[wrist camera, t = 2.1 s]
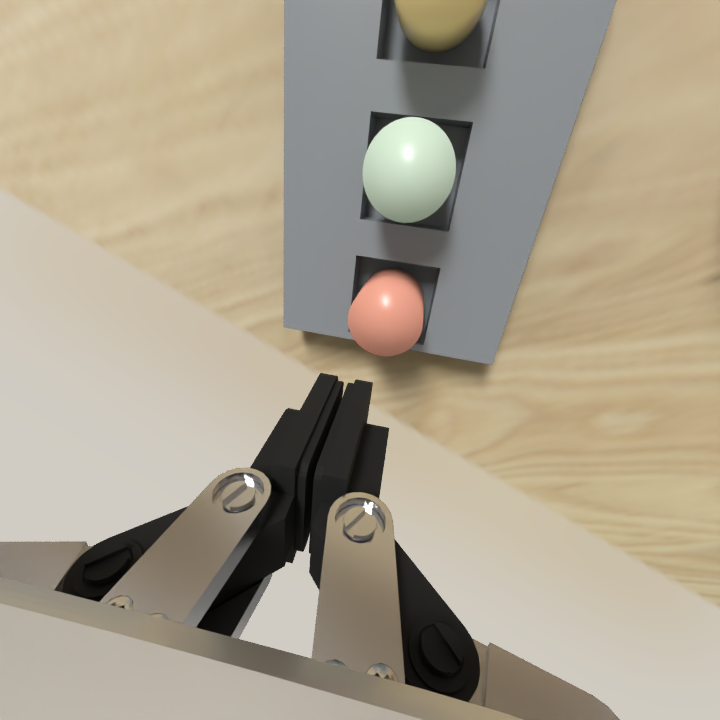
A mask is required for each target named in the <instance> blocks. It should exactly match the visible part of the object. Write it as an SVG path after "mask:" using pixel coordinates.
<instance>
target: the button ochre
mask: <svg viewBox="0 0 720 720" xmlns="http://www.w3.org/2000/svg"><path fill="white" fill-rule="evenodd" d="M394 1H395V6H396V11H397V16H398V20H399V23H400V26H401V29H402V31H403V33H404V34H405V36H406V37H407V39H408V40H409V41H410V42H411V43H412V44H413V45H414V46H415V47H417V48H418V49H420V50H422V51H425V52H430V53H441V52H445V51H448V50H451V49H453V48H455V47H456V46H458V45H459V44H461V43H462V42H463V41H464V40H465V39H466V38H467V37H468V36H469V35H470V34H471V33H472V31H473V30H474V29H475V27H476V26H477V24H478V22H479V21H480V19H481V17H482V15H483V12H484V10H485V7H486V4H487V1H488V0H394Z"/></svg>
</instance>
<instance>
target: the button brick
mask: <svg viewBox="0 0 720 720" xmlns="http://www.w3.org/2000/svg"><path fill="white" fill-rule="evenodd" d="M423 314H424V292H423V289H422V287H421V285H420V283H419V281H418V280H417V279H416V278H415V277H414V276H413V275H412V274H410V273H409V272H407V271H405V270H402V269H398V268H386V269H382V270H380V271H378V272H376V273H374V274H373V275H372V276H370V277H369V279H368V280H367V281H366V283H365V284H364V286H363V287H362V289H361V290H360V292H359V293H358V295H357V297H356V298H355V300H354V301H353V303H352V305H351V307H350V310H349V314H348V326H349V330H350V333H351V335H352V337H353V338H354V340H355V341H356V342H357V344H358V345H359V346H360V347H362V348H363V349H364V350H366V351H368V352H370V353H372V354H375V355H379V356H395V355H399V354H401V353H404V352H405V351H407V350H409V349H410V348H411V347H412V346H413V345H414V344H415V343H416V342H417V340H418V339H419V337H420V335H421V332H422V327H423Z"/></svg>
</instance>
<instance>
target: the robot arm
mask: <svg viewBox="0 0 720 720" xmlns="http://www.w3.org/2000/svg"><path fill="white" fill-rule="evenodd" d="M343 385H344V383H343V382H342V381H338V376H334V375H329V374H323V373H320V375H319V376H318V378H317V380H316V382H315V384H314V386H313V387H312V390H311V391H310V393H309V395H308V397H307V398H306V400H305V402H304V404H303V406H302V408H301V409H300V410H294V409H289V408H288V409H286V410H285V412H284V413H283V415H282V416H281V418H280V420H279V421H278V423H277V425H276V426H275V428H274V430H273V431H272V433H271V435H270V436H269V438H268V439H267V441H266V443H265V444H264V446H263V448H262V449H261V451H260V452H259V454H258V456H257V457H256V459H255V461H254V462H253V464H252V466H251V467H250V468H236V469H233V470H229V471H227V472H225V473H223V474H221V475H219V476H218V477H217V478H215V479H214V480H213V481H212V482H211V483H210V484H209V485H208V486H207V487H206V488H205V489H204V490H203V491H202V492H201V493H200V495H199V496H198V497H197V498H196V499H195V500H194V501H193V502H192V503H191V504H190V505H189V506H188V507H185V508H183V509H180V510H178V511H175V512H173V513H170V514H168V515H165V516H163V517H160V518H158V519H155V520H153V521H150V522H148V523H145V524H143V525H140V526H138V527H135V528H133V529H130V530H128V531H125V532H123V533H120V534H118V535H115V536H113V537H110V538H108V539H106V540H104V541H102V542H100V543H98V544H96V545H94V546H88V545H87V543H86V542H0V720H619V718H618V717H617V716H616V715H615V714H614V713H613V712H612V710H611V709H610V708H609V707H608V706H607V705H605V704H604V703H602V702H601V701H600V700H598V699H597V698H595V697H594V696H593V695H591V694H589V693H587V692H585V691H583V690H581V689H579V688H577V687H575V686H573V685H572V684H570V683H568V682H566V681H564V680H562V679H560V678H558V677H556V676H554V675H552V674H550V673H548V672H546V671H544V670H542V669H540V668H539V667H537V666H535V665H533V664H531V663H529V662H527V661H525V660H523V659H521V658H519V657H517V656H515V655H514V654H511V653H510V652H508V651H506V650H504V649H502V648H500V647H498V646H496V645H494V644H492V643H490V644H489V645H488V647H487V646H486V645H484V644H482V643H480V642H478V641H476V640H474V639H472V638H471V636H470V634H469V633H468V631H467V630H466V628H465V627H464V625H463V624H462V623H461V622H460V621H459V619H458V618H457V617H456V615H454V613H453V612H452V610H451V609H450V608H449V607H448V605H447V604H446V603H445V602H444V600H443V599H442V598H441V597H440V595H439V594H438V593H437V592H436V590H435V589H434V588H433V587H432V585H431V584H430V583H429V582H428V580H427V579H426V578H425V577H424V575H423V574H422V573H421V572H420V570H419V569H418V568H417V567H416V565H415V564H414V563H413V562H412V560H411V559H410V558H409V557H408V555H407V554H406V553H405V552H404V551H403V549H402V548H401V547H400V545H399V544H398V543H397V542H396V540H395V539H394V529H393V520H392V516H391V513H390V511H389V509H388V508H387V506H386V505H385V504H384V503H383V502H382V501H381V500H380V499H379V495H380V488H381V480H382V474H383V467H384V460H385V453H386V446H387V439H388V432H389V428H386V427H381V426H376V425H371V424H367V418H368V411H369V405H370V398H371V392H372V385H373V383H372V382H367V381H361V380H355V383H354V384H353V383H348V384H347V387H346V390H345V392H344V395H343ZM342 395H343V398H342ZM309 534H310V544H309V553H310V554H311V556H310V570H309V572H310V574H311V576H312V578H313V580H314V581H315V583H316V585H317V587H318V589H319V598H318V607H317V616H316V624H315V633H314V642H313V651H312V659H311V658H307V657H303V656H300V655H296V654H293V653H289V652H285V651H281V650H278V649H274V648H270V647H266V646H262V645H259V644H255V643H251V642H248V641H244V640H240V639H239V637H240V635H241V634H242V632H243V630H244V628H245V626H246V625H247V623H248V621H249V619H250V617H251V615H252V613H253V612H254V610H255V608H256V606H257V604H258V603H259V601H260V599H261V597H262V595H263V593H264V591H265V590H266V588H267V586H268V584H269V582H270V579H271V577H272V573H273V572H275V571H277V570H278V569H280V568H282V567H284V566H285V563H286V562H290V563H293V560H294V557H295V554H296V551H297V550H298V551H302V552H303V551H304V549H305V546H306V543H307V540H308V537H309Z"/></svg>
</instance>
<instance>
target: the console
mask: <svg viewBox="0 0 720 720" xmlns="http://www.w3.org/2000/svg"><path fill="white" fill-rule="evenodd" d="M616 1H617V0H488V1H487V4H486V7H485V10H484V12H483V15H482V17H481V19H480V21H479V22H478V24H477V26H476V27H475V29H474V30H473V31H472V33H471V34H470V35H469V36H468V37H467V38H466V39H465V40H464V41H463V42H462V43H461V44H459V45H458V46H456V47H455V48H453V49H451V50H448V51H445V52H441V53H430V52H425V51H422V50H420V49H418V48H417V47H415V46H414V45H413V44H412V43H411V42H410V41H409V40H408V39H407V37H406V36H405V34H404V33H403V31H402V29H401V26H400V23H399V20H398V16H397V11H396V6H395V1H394V0H284V327H285V328H290V329H296V330H302V331H307V332H313V333H318V334H324V335H329V336H335V337H340V338H346V339H352V340H354V338H353V337H352V335H351V333H350V330H349V326H348V314H349V310H350V307H351V305H352V303H353V301H354V300H355V298H356V297H357V295H358V293H359V292H360V290H361V289H362V287H363V286H364V284H365V283H366V281H367V280H368V279H369V277H370V276H372V275H373V274H374V273H376V272H378V271H380V270H382V269H386V268H398V269H402V270H405V271H407V272H409V273H410V274H412V275H413V276H414V277H415V278H416V279H417V280H418V281H419V283H420V285H421V287H422V289H423V292H424V314H423V327H422V332H421V335H420V337H419V339H418V340H417V342H416V343H415V344H414V345H413V346H412V347H411V348H410V349H409V350H413V351H418V352H424V353H429V354H435V355H440V356H446V357H452V358H457V359H463V360H468V361H474V362H479V363H485V364H490V365H492V363H493V360H494V357H495V355H496V352H497V349H498V346H499V343H500V340H501V337H502V334H503V331H504V328H505V325H506V322H507V319H508V316H509V314H510V311H511V308H512V305H513V302H514V299H515V296H516V293H517V290H518V287H519V284H520V281H521V278H522V276H523V273H524V270H525V267H526V264H527V261H528V258H529V255H530V252H531V249H532V246H533V243H534V240H535V238H536V235H537V232H538V229H539V226H540V223H541V220H542V217H543V214H544V211H545V208H546V205H547V202H548V199H549V197H550V194H551V191H552V188H553V185H554V182H555V179H556V176H557V173H558V170H559V167H560V164H561V161H562V159H563V156H564V153H565V150H566V147H567V144H568V141H569V138H570V135H571V132H572V129H573V126H574V123H575V121H576V118H577V115H578V112H579V109H580V106H581V103H582V100H583V97H584V94H585V91H586V88H587V85H588V82H589V80H590V77H591V74H592V71H593V68H594V65H595V62H596V59H597V56H598V53H599V50H600V47H601V44H602V42H603V39H604V36H605V33H606V30H607V27H608V24H609V21H610V18H611V15H612V12H613V9H614V6H615V4H616ZM406 117H419V118H424V119H426V120H429V121H431V122H433V123H435V124H436V125H437V126H439V127H440V128H441V129H442V130H443V131H444V132H445V134H446V135H447V137H448V138H449V140H450V142H451V144H452V147H453V149H454V153H455V159H456V174H455V180H454V183H453V186H452V189H451V191H450V193H449V195H448V197H447V199H446V200H445V202H444V203H443V204H442V205H441V207H440V208H439V209H438V210H437V211H435V212H434V213H433V214H431V215H430V216H429V217H427V218H425V219H422V220H420V221H416V222H411V223H401V222H396V221H393V220H390V219H388V218H386V217H384V216H383V215H382V214H380V213H379V212H378V211H377V210H376V209H375V208H374V207H373V205H372V204H371V202H370V201H369V199H368V197H367V194H366V192H365V188H364V184H363V163H364V159H365V155H366V152H367V150H368V147H369V145H370V144H371V142H372V140H373V139H374V137H375V136H376V135H377V134H378V133H379V132H380V131H381V130H382V129H383V128H384V127H385V126H387V125H388V124H390V123H391V122H393V121H396V120H398V119H402V118H406Z"/></svg>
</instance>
